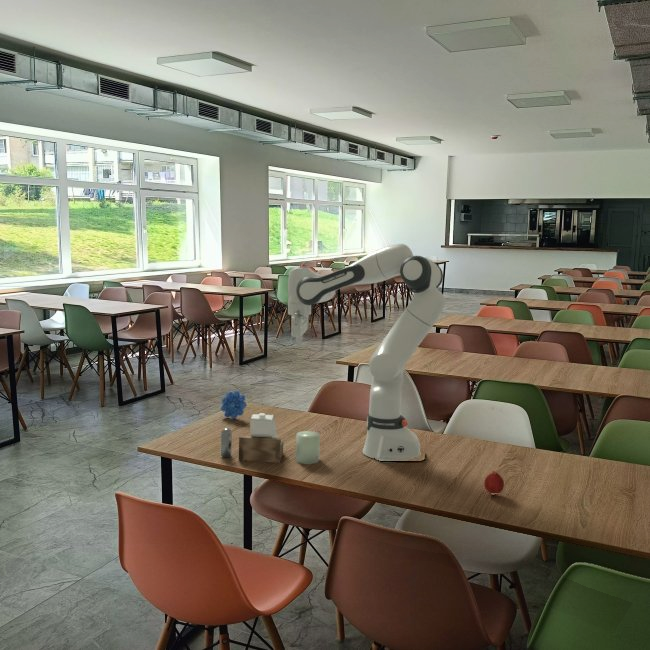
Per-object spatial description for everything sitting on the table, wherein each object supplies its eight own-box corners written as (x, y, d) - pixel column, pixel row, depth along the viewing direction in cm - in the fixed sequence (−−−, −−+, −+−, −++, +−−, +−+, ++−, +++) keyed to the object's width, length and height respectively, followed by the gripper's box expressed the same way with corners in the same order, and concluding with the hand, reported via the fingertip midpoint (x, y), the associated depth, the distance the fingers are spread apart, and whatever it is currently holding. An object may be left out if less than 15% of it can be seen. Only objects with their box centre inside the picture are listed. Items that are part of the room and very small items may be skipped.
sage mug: (313, 452, 228) (314, 428, 227) (321, 463, 218) (322, 437, 217) (291, 454, 226) (292, 429, 224) (298, 464, 216) (299, 439, 214)
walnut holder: (283, 453, 226) (283, 431, 225) (279, 462, 217) (280, 439, 216) (243, 450, 227) (244, 429, 226) (238, 460, 218) (239, 437, 217)
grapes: (250, 418, 266) (251, 389, 264) (243, 422, 260) (243, 393, 258) (226, 414, 270) (226, 386, 268) (218, 418, 264) (218, 389, 262)
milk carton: (274, 451, 228) (270, 429, 212) (254, 450, 228) (248, 428, 212) (276, 432, 232) (272, 409, 216) (257, 431, 232) (251, 408, 216)
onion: (488, 490, 201) (490, 465, 200) (506, 495, 197) (508, 470, 196) (480, 495, 196) (482, 470, 195) (497, 501, 193) (499, 475, 191)
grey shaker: (232, 454, 223) (232, 427, 222) (230, 458, 219) (230, 430, 218) (222, 453, 223) (222, 426, 222) (219, 457, 220) (220, 429, 218)
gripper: (304, 312, 233) (304, 350, 234) (310, 307, 253) (310, 342, 255) (287, 312, 233) (287, 350, 235) (295, 307, 253) (294, 341, 255)
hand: (299, 345), depth 245 cm, fingers closed
